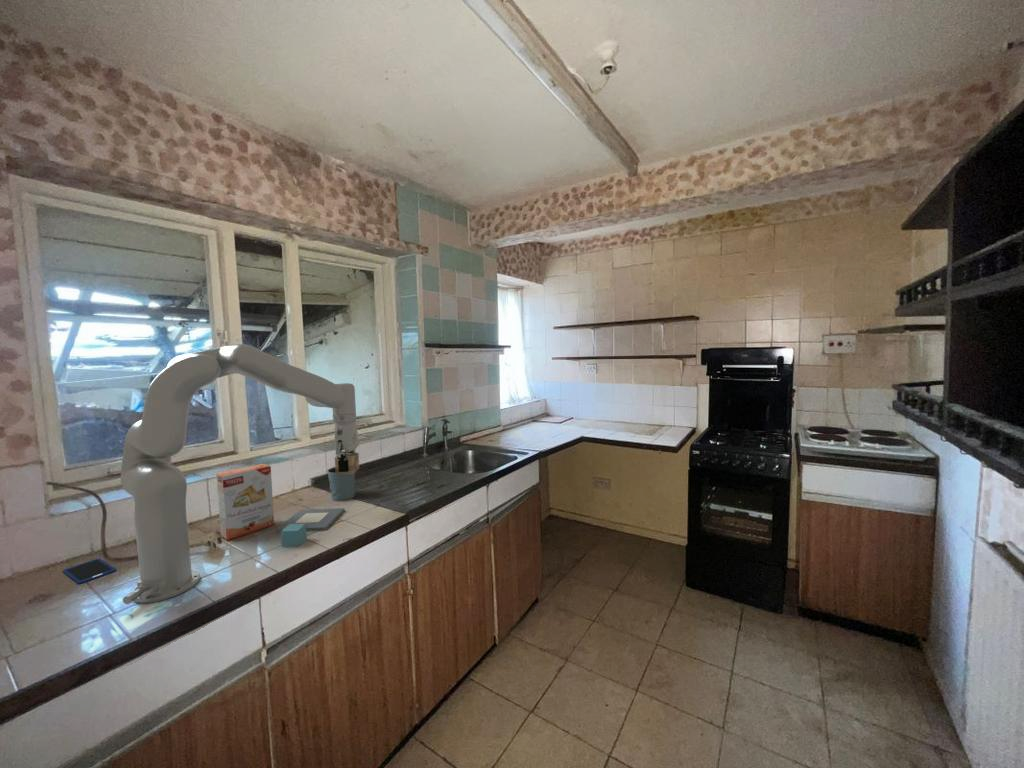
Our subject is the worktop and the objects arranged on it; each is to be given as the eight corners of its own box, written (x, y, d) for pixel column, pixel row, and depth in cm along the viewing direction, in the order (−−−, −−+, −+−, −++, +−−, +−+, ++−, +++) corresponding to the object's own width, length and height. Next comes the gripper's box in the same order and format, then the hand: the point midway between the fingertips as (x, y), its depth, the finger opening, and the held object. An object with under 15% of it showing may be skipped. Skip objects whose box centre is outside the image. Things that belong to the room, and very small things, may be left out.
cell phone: (79, 586, 101) (78, 583, 101) (61, 572, 108) (61, 570, 107) (117, 572, 107) (117, 569, 107) (99, 560, 114) (99, 557, 114)
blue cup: (361, 493, 163) (359, 465, 162) (348, 502, 153) (346, 472, 152) (337, 493, 164) (336, 465, 163) (324, 502, 154) (322, 472, 153)
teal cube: (298, 546, 119) (297, 530, 118) (281, 547, 118) (280, 531, 118) (306, 538, 124) (305, 523, 123) (290, 539, 123) (289, 524, 123)
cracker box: (227, 541, 123) (221, 476, 121) (220, 536, 126) (215, 473, 125) (275, 525, 134) (271, 465, 132) (267, 521, 138) (263, 462, 136)
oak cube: (353, 473, 137) (352, 457, 136) (335, 474, 136) (334, 457, 136) (359, 468, 143) (358, 452, 142) (342, 469, 142) (341, 453, 142)
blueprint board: (325, 530, 129) (325, 526, 129) (276, 532, 129) (275, 528, 128) (344, 510, 145) (344, 507, 145) (300, 512, 144) (300, 509, 144)
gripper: (345, 422, 130) (348, 476, 131) (364, 414, 147) (366, 461, 148) (322, 423, 129) (326, 476, 131) (343, 415, 147) (346, 462, 148)
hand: (347, 468), depth 139 cm, fingers closed on oak cube, 6 cm apart
